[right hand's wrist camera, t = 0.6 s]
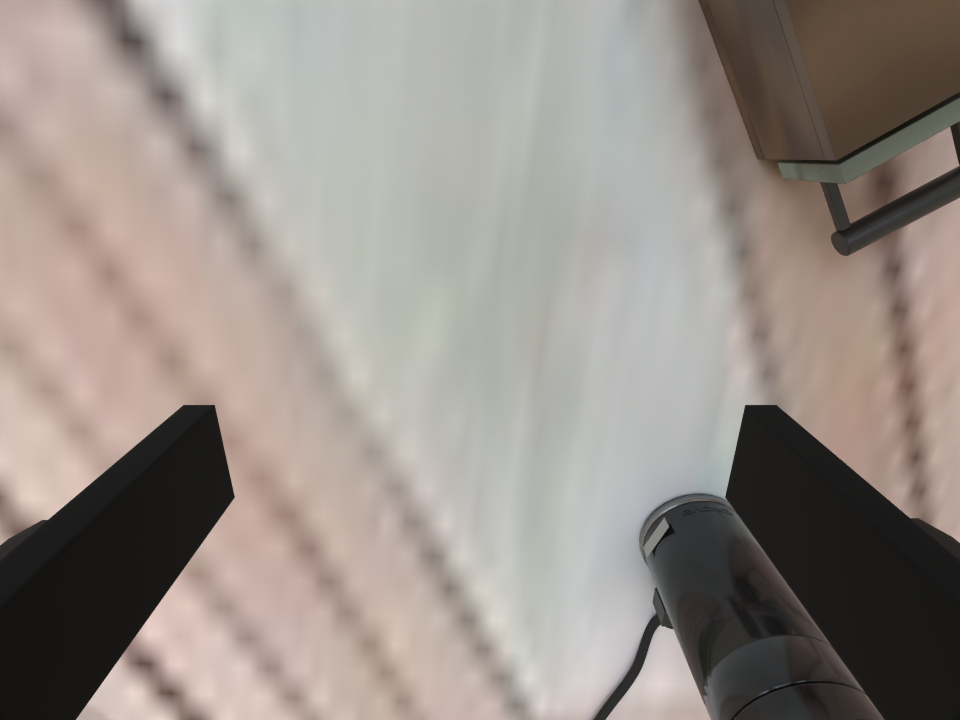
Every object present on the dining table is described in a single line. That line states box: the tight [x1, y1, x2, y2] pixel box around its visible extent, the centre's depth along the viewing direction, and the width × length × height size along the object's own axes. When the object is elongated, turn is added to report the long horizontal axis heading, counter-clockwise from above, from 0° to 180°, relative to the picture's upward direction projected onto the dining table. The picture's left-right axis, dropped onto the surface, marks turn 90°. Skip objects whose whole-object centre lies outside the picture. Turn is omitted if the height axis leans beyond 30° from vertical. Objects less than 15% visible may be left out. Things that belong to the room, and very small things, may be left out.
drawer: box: [777, 92, 960, 256], centre depth 29 cm, size 20×9×6 cm, turn 31°
